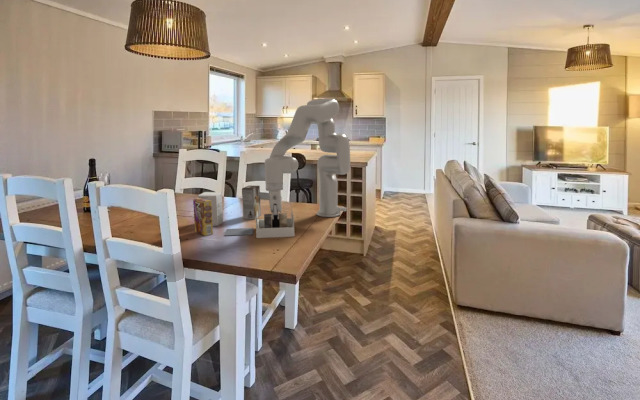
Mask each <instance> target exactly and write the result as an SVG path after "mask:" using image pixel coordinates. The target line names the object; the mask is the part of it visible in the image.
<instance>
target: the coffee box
mask: <svg viewBox="0 0 640 400" xmlns="http://www.w3.org/2000/svg"><path fill="white" fill-rule="evenodd" d="M260 187H261V186H260V185H247V186H245V187H243V188H241V197H242V218H243V219H244V220H252V221H253V220H255V221H256V215H257V211H258V218H259V217H260V216H262V213H261V209H262V208H261V188H260Z"/></svg>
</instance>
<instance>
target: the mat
mask: <svg viewBox="0 0 640 400" xmlns="http://www.w3.org/2000/svg"><path fill="white" fill-rule="evenodd" d="M253 233H254V227H246V228H245V227H242V228H226V230H225V232H224V237H233V236H234V237H235V236H237V237H238V236H240V237H241V236H253Z"/></svg>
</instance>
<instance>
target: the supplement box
mask: <svg viewBox="0 0 640 400" xmlns="http://www.w3.org/2000/svg"><path fill="white" fill-rule="evenodd" d="M197 198H202V199H207V200H211V203H212V226H213V227H218V226H219V225H221V224H222V223H223V222H224V213H223V212H224V211H223V210H224V209H223V192H220V191H219V192H218V191H203V192H202V193H199V194H198V196H197Z"/></svg>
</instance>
